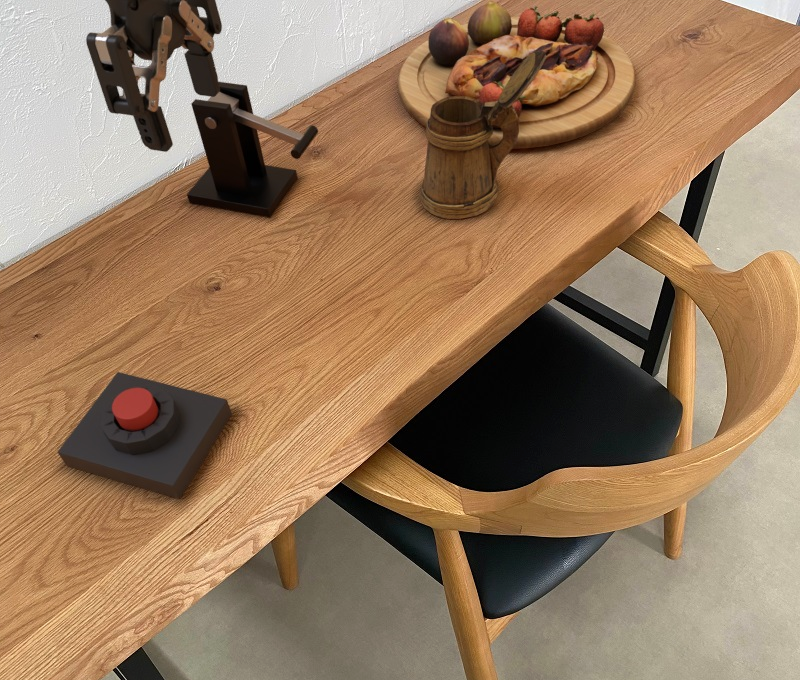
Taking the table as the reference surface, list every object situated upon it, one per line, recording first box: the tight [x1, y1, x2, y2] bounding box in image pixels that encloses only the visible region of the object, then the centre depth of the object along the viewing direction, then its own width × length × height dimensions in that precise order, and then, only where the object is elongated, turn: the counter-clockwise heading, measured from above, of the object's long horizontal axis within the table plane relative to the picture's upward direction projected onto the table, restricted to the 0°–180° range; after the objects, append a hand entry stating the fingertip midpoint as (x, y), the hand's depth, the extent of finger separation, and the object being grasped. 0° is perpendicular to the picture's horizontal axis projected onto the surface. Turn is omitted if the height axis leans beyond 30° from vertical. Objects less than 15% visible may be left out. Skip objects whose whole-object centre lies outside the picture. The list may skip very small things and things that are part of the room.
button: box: [112, 388, 158, 431], centre depth 71 cm, size 4×4×2 cm
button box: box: [57, 371, 233, 500], centre depth 73 cm, size 12×10×4 cm
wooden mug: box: [419, 51, 547, 220], centre depth 87 cm, size 9×14×18 cm, turn 79°
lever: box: [206, 92, 319, 160], centre depth 89 cm, size 12×5×2 cm, turn 70°
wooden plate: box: [396, 0, 637, 149], centre depth 106 cm, size 32×32×8 cm
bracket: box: [186, 81, 299, 219], centre depth 93 cm, size 11×8×13 cm
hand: (185, 120), depth 68 cm, fingers open, 8 cm apart
